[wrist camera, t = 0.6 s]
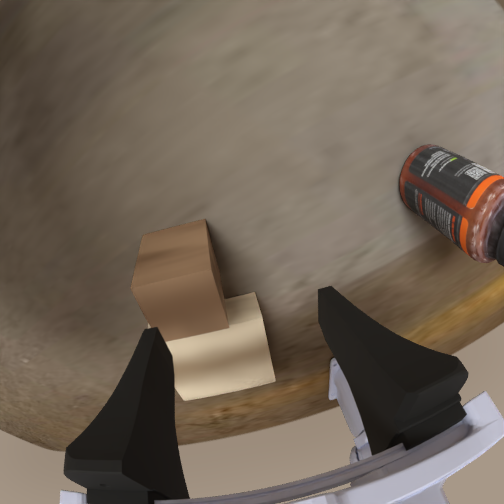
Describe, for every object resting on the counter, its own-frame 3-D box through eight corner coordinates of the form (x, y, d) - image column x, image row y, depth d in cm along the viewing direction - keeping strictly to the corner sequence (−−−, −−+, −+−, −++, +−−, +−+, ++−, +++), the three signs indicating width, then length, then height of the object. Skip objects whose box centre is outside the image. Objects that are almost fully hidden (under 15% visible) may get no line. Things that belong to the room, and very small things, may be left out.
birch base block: (268, 357, 30) (275, 381, 27) (182, 376, 29) (184, 400, 27) (254, 291, 25) (262, 317, 22) (149, 316, 24) (146, 343, 22)
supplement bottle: (420, 220, 24) (507, 299, 15) (383, 185, 22) (487, 267, 12) (456, 169, 22) (552, 231, 13) (424, 127, 20) (541, 181, 10)
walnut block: (219, 271, 23) (229, 327, 18) (163, 284, 23) (159, 343, 18) (205, 218, 21) (211, 269, 16) (142, 234, 21) (130, 288, 16)
